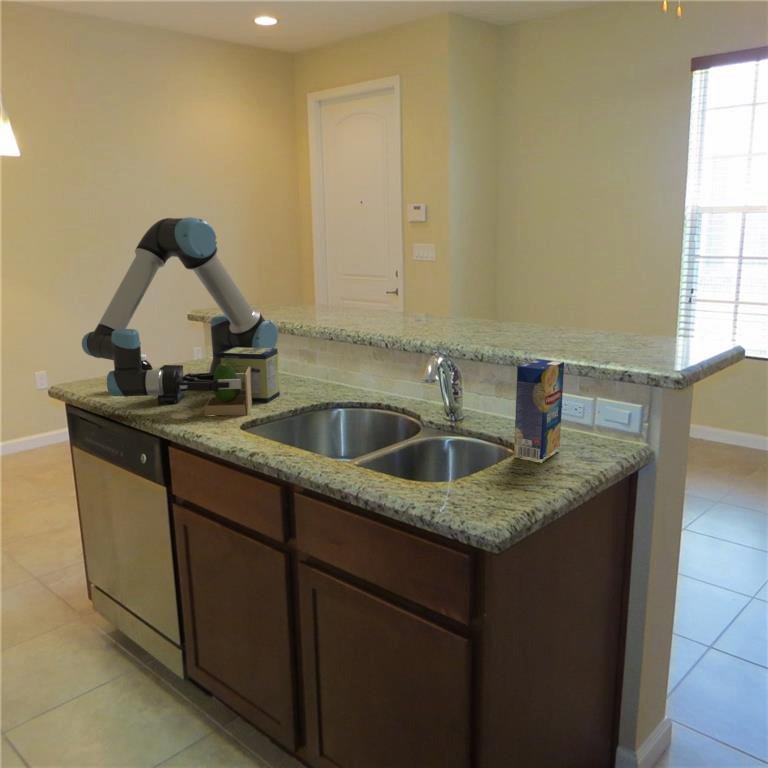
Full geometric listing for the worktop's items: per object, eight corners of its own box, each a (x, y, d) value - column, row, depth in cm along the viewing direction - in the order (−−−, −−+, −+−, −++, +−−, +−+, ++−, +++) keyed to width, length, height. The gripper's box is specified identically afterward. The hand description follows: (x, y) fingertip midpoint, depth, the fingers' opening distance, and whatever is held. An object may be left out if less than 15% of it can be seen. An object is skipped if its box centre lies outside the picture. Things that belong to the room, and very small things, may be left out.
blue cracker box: (559, 451, 170) (564, 361, 165) (541, 463, 162) (545, 369, 157) (533, 446, 174) (537, 358, 169) (513, 458, 165) (517, 366, 161)
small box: (178, 404, 218) (176, 370, 216) (157, 404, 217) (154, 371, 215) (186, 396, 228) (183, 364, 226) (165, 396, 228) (163, 364, 225)
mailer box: (210, 406, 215) (208, 367, 212) (252, 405, 216) (250, 366, 213) (205, 416, 203) (202, 375, 201) (248, 415, 205) (246, 374, 202)
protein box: (235, 393, 231) (232, 346, 228) (280, 395, 228) (278, 348, 225) (221, 401, 221) (218, 352, 218) (268, 403, 218) (266, 353, 215)
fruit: (246, 401, 211) (244, 361, 208) (228, 407, 204) (226, 366, 201) (226, 398, 214) (223, 359, 212) (207, 404, 208) (205, 363, 205)
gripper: (171, 387, 217) (246, 385, 219) (156, 403, 197) (239, 401, 199) (170, 363, 215) (245, 361, 217) (154, 377, 195) (238, 375, 197)
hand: (242, 380), depth 208 cm, fingers closed on fruit, 8 cm apart
